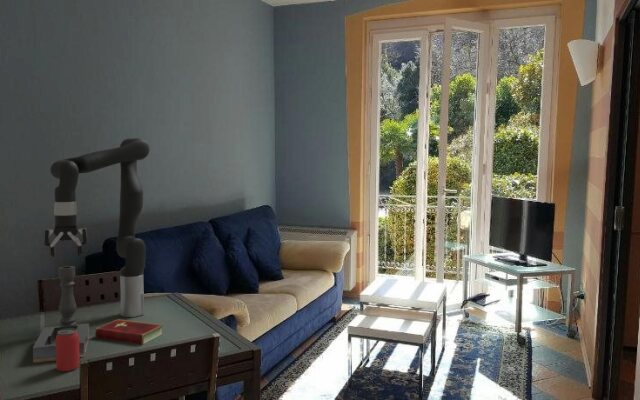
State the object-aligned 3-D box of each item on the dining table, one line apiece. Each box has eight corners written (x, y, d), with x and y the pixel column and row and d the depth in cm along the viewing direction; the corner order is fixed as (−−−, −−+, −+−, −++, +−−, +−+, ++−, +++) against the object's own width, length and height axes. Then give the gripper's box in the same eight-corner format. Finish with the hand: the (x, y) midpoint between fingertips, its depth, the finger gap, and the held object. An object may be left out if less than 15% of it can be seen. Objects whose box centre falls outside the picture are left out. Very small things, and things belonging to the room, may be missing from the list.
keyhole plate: (89, 336, 185) (89, 323, 185) (84, 357, 166) (84, 342, 165) (44, 340, 180) (43, 327, 180) (33, 362, 161) (32, 347, 160)
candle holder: (69, 335, 186) (68, 269, 185) (55, 333, 188) (53, 268, 186) (80, 329, 192) (79, 266, 191) (66, 328, 194) (65, 265, 192)
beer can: (61, 364, 160) (60, 327, 159) (82, 363, 160) (82, 327, 160) (52, 372, 153) (51, 334, 152) (74, 372, 154) (73, 334, 153)
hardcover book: (142, 346, 178) (142, 334, 178) (95, 339, 184) (95, 327, 184) (163, 335, 189) (163, 324, 189) (117, 328, 196) (117, 318, 195)
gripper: (87, 212, 193) (88, 253, 194) (45, 213, 188) (47, 255, 189) (85, 214, 186) (86, 256, 187) (42, 215, 181) (43, 258, 182)
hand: (66, 256), depth 188 cm, fingers open, 8 cm apart
